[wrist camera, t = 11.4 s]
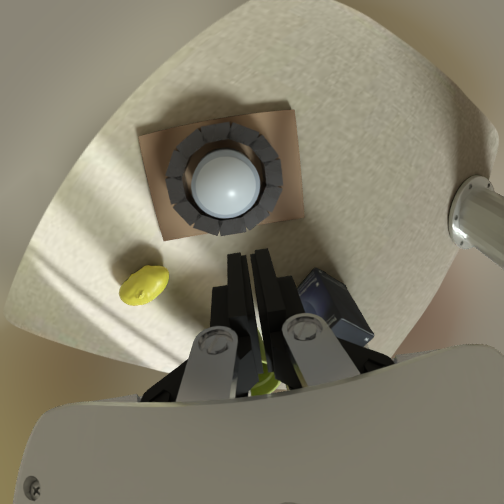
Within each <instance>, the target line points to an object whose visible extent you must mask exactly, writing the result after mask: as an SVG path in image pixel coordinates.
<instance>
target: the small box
mask: <svg viewBox="0 0 504 504" xmlns="http://www.w3.org/2000/svg"><path fill="white" fill-rule="evenodd" d="M297 291H298V294H299V296H300V299H301V302H302V304H303V307H304V310H305V313H311V314H315V315H317V316H319V317H321V318H322V319H323V320H324V321H325V322H326V323H327V325H328V326H329V327H330V329H331V330H332V332H333V333H334V335H335V336H336V337H338V338H341V339H343V340H346V341H349V342H351V343H354V344H357V345H359V346H362V347H364V346H365V345H366V344H367V343H368V342H369V341H370V340H371V339H372V338H373V337H374V333H373V332H372V330H371V329H370V327H369V326H368V324H367V322H366V320H365V319H364V317H363V315H362V313H361V312H360V310H359V308H358V306H357V305H356V303H355V301H354V300H353V298H352V297H351V295H350V293H349V292H348V290H347V287H346V285H344V284H343V283H340V282H339V281H337V280H336V279H334V278H332V277H331V276H329V275H328V274H326V273H325V272H324V271H322V270H319V269H318V268H314V269H313V270H312V272H311V273H310V274H309V275H308V276H307V277H306V279H305V280H304V281H303V282H302V283H301V284H300V286H299V287H298V288H297Z"/></svg>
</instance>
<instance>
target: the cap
mask: <svg viewBox="0 0 504 504" xmlns="http://www.w3.org/2000/svg"><path fill="white" fill-rule="evenodd" d="M191 190H192V194H193V198H194V200H195V202H196V203H197V205H198V206H199V207H200V208H201V209H202V210H203V211H204V212H206V213H207V214H209V215H211V216H214V217H218V218H232V217H236V216H239V215H241V214H243V213H245V212H246V211H247V210H248V209H250V208H251V207H252V205H253V204H254V203H255V201H256V199H257V197H258V194H259V190H260V179H259V175H258V172H257V170H256V168H255V167H254V165H253V164H252V163H251V161H250V160H249V159H248V157H247V156H246V155H245V154H243V153H242V152H240V151H239V150H236V149H234V148H228V147H222V148H217V149H214V150H212V151H210V152H208V153H207V154H206V155H205V156H204V157H203V158H202V159H201V160H200V162H199V164H198V166H197V168H196V170H195V171H194V174H193V177H192V182H191Z"/></svg>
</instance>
